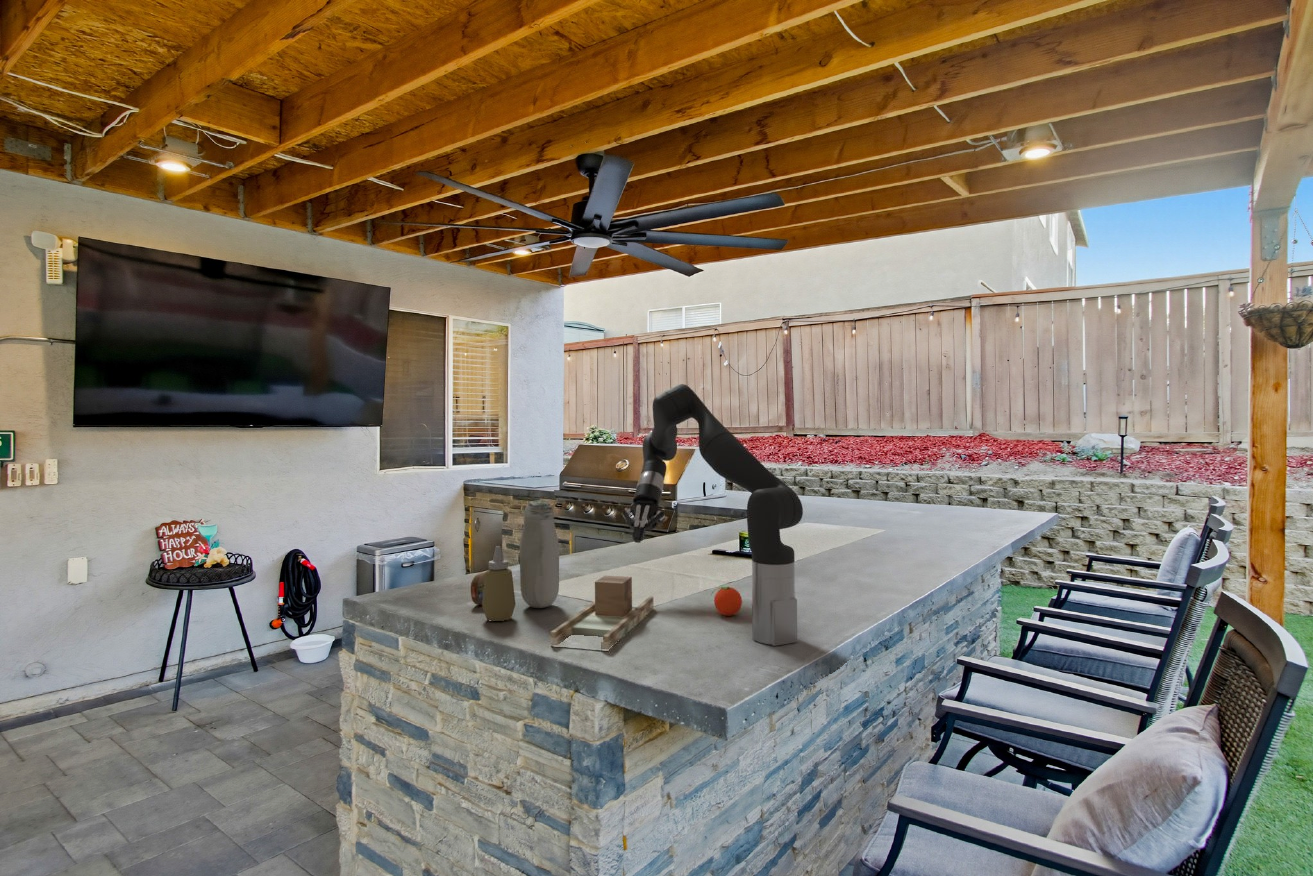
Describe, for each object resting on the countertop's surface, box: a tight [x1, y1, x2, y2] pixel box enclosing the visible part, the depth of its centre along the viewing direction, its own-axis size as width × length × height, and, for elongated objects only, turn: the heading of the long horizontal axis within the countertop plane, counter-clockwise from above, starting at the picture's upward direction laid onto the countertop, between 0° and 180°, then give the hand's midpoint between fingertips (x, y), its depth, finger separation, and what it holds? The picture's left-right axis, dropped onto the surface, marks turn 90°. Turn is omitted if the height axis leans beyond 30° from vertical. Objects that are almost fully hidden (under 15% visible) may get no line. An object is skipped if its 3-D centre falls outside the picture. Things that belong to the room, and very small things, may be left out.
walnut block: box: [594, 575, 633, 617], centre depth 164 cm, size 7×7×8 cm
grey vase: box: [519, 499, 560, 609], centre depth 177 cm, size 10×10×28 cm
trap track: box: [550, 596, 654, 649], centre depth 159 cm, size 34×13×3 cm, turn 164°
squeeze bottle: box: [481, 545, 517, 622], centre depth 166 cm, size 8×8×18 cm
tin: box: [470, 570, 487, 606], centre depth 184 cm, size 15×3×8 cm, turn 162°
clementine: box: [710, 586, 743, 617], centre depth 168 cm, size 8×7×7 cm
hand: (636, 541), depth 183 cm, fingers closed
